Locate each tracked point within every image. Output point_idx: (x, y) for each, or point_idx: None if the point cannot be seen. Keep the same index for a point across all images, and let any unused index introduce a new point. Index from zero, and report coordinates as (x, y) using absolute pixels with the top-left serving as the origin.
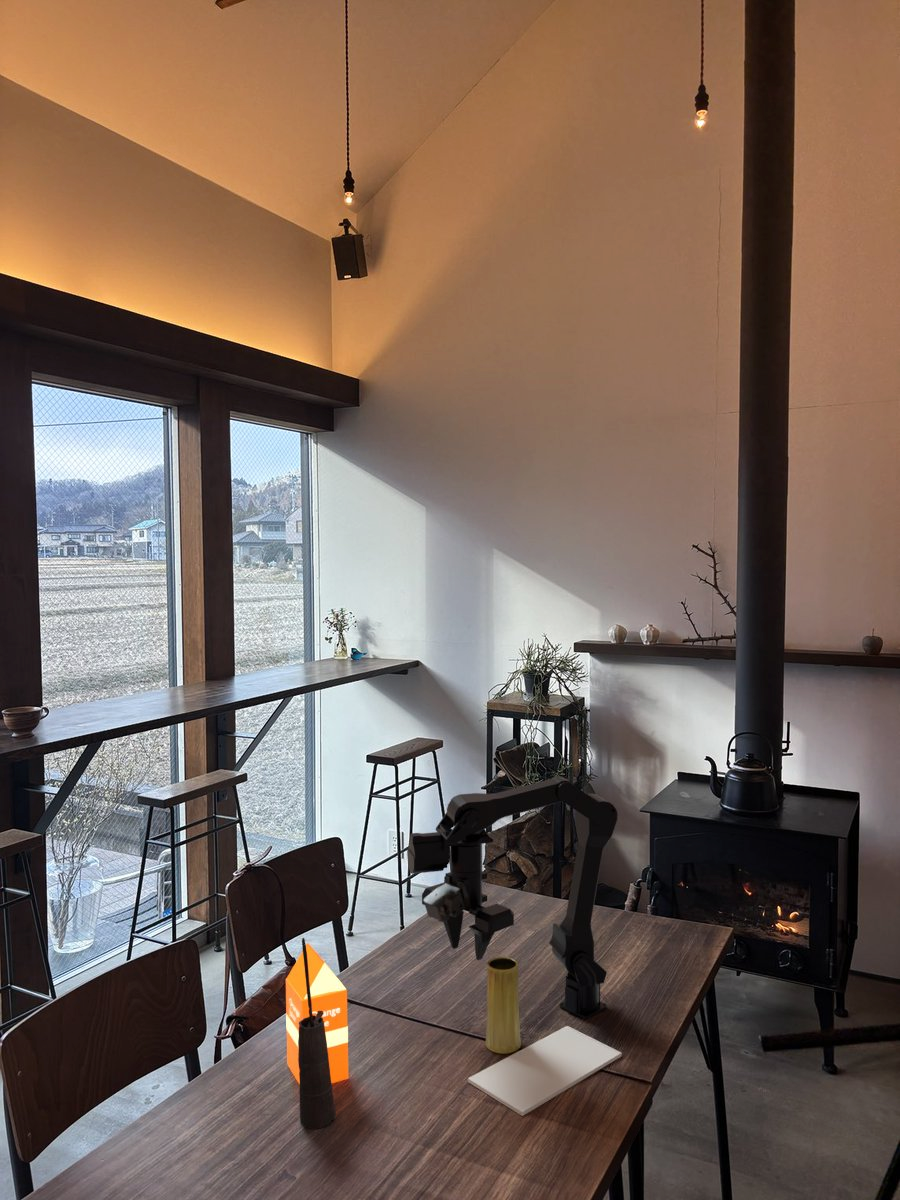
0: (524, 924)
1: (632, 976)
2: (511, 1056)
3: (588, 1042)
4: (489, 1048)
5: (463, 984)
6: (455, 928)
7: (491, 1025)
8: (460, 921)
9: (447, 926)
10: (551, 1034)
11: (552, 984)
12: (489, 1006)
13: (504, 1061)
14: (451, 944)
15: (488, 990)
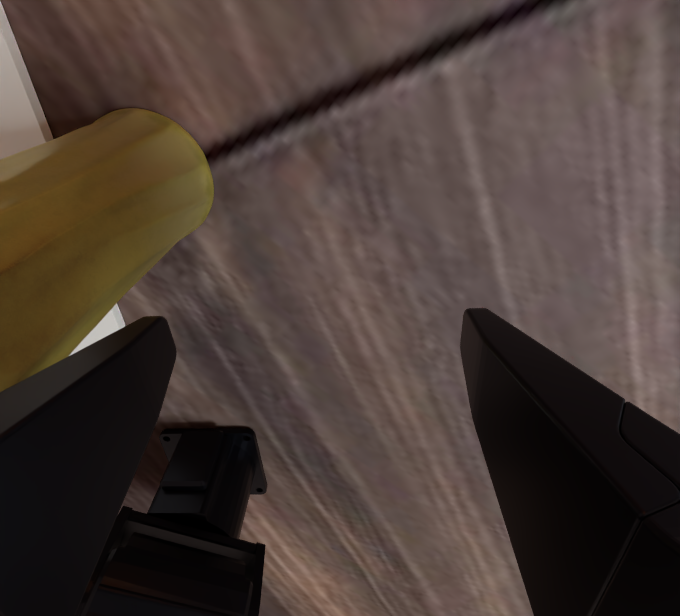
0: None
1: (272, 581)
2: (36, 132)
3: None
4: (132, 108)
5: (564, 337)
6: (528, 486)
7: (76, 132)
8: (543, 606)
9: (617, 450)
10: (115, 322)
11: (360, 482)
12: (43, 157)
13: (10, 84)
14: (495, 321)
15: (2, 189)
